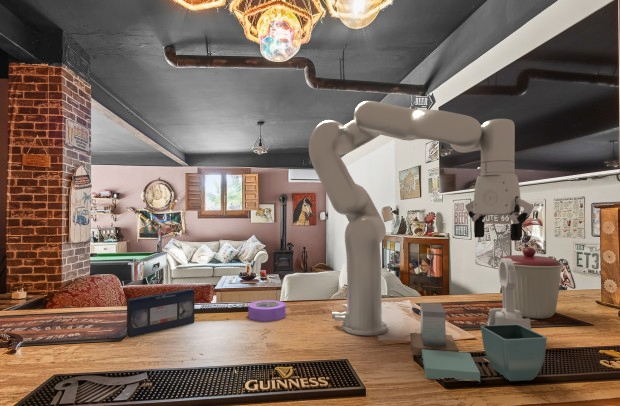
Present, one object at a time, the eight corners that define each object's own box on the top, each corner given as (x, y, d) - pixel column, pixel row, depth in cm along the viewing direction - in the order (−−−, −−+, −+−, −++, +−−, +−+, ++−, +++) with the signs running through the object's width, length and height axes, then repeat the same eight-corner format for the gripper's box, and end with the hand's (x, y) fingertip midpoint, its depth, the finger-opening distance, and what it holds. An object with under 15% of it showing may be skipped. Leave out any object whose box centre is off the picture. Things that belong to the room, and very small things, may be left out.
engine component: (493, 344, 92) (538, 346, 90) (492, 261, 92) (537, 262, 90) (482, 329, 102) (522, 332, 100) (481, 255, 103) (521, 256, 101)
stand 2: (426, 378, 74) (425, 368, 74) (421, 358, 83) (421, 349, 83) (480, 382, 72) (480, 372, 72) (469, 361, 81) (469, 352, 81)
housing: (446, 347, 84) (445, 312, 84) (423, 346, 85) (423, 311, 85) (441, 335, 92) (441, 303, 92) (420, 334, 93) (420, 302, 93)
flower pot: (479, 367, 79) (479, 324, 79) (519, 365, 79) (518, 323, 79) (504, 387, 70) (504, 339, 70) (549, 385, 71) (548, 337, 71)
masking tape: (266, 309, 126) (265, 297, 126) (293, 315, 119) (293, 302, 119) (240, 317, 116) (240, 305, 116) (268, 324, 109) (268, 311, 109)
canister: (489, 305, 127) (488, 244, 127) (546, 307, 125) (545, 244, 125) (510, 322, 109) (509, 250, 109) (577, 324, 107) (576, 250, 107)
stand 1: (412, 355, 85) (412, 347, 85) (410, 340, 95) (410, 332, 95) (458, 359, 83) (458, 350, 83) (451, 343, 92) (451, 335, 93)
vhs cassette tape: (129, 338, 98) (129, 300, 98) (125, 335, 100) (125, 298, 100) (195, 323, 110) (195, 289, 110) (191, 321, 112) (191, 288, 112)
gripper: (457, 171, 98) (457, 236, 98) (523, 166, 83) (522, 242, 83) (476, 173, 102) (475, 235, 102) (541, 168, 87) (541, 241, 87)
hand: (496, 238), depth 92 cm, fingers open, 9 cm apart
